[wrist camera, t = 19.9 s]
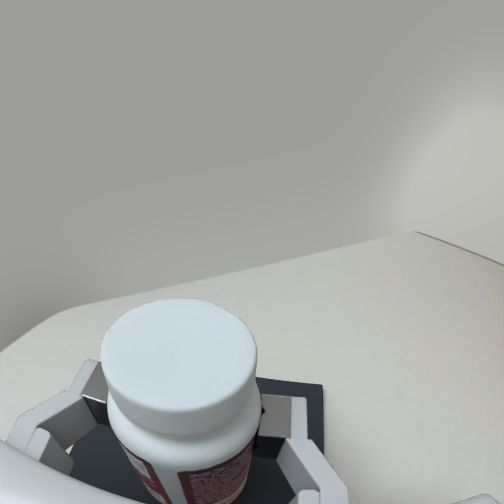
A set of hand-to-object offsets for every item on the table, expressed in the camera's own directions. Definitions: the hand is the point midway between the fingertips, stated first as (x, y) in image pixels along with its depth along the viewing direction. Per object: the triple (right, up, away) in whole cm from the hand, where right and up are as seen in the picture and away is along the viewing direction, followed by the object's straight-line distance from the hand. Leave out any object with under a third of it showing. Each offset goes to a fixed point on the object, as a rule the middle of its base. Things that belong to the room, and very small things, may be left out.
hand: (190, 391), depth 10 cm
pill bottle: (0, -5, +2) cm, 5 cm away
